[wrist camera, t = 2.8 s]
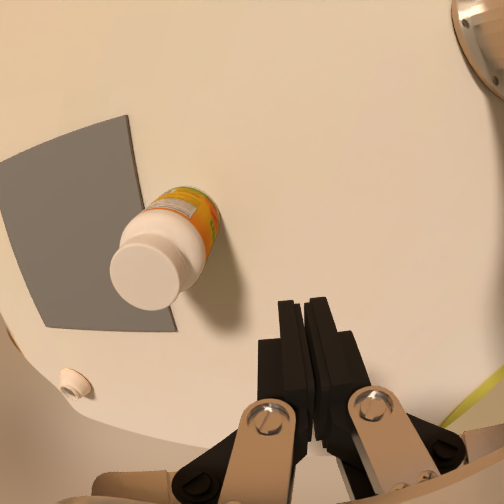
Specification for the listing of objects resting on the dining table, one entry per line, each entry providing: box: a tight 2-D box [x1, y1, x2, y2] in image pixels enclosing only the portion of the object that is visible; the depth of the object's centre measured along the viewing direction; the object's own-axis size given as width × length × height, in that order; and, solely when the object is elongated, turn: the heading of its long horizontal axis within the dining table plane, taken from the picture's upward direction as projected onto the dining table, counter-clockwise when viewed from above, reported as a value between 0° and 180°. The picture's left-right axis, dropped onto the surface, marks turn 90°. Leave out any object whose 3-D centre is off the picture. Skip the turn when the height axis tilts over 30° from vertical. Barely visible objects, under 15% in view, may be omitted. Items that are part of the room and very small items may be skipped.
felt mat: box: [0, 115, 176, 332], centre depth 25 cm, size 18×20×1 cm
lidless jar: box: [60, 368, 91, 400], centre depth 33 cm, size 5×3×5 cm
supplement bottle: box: [110, 186, 220, 311], centre depth 19 cm, size 5×5×10 cm
